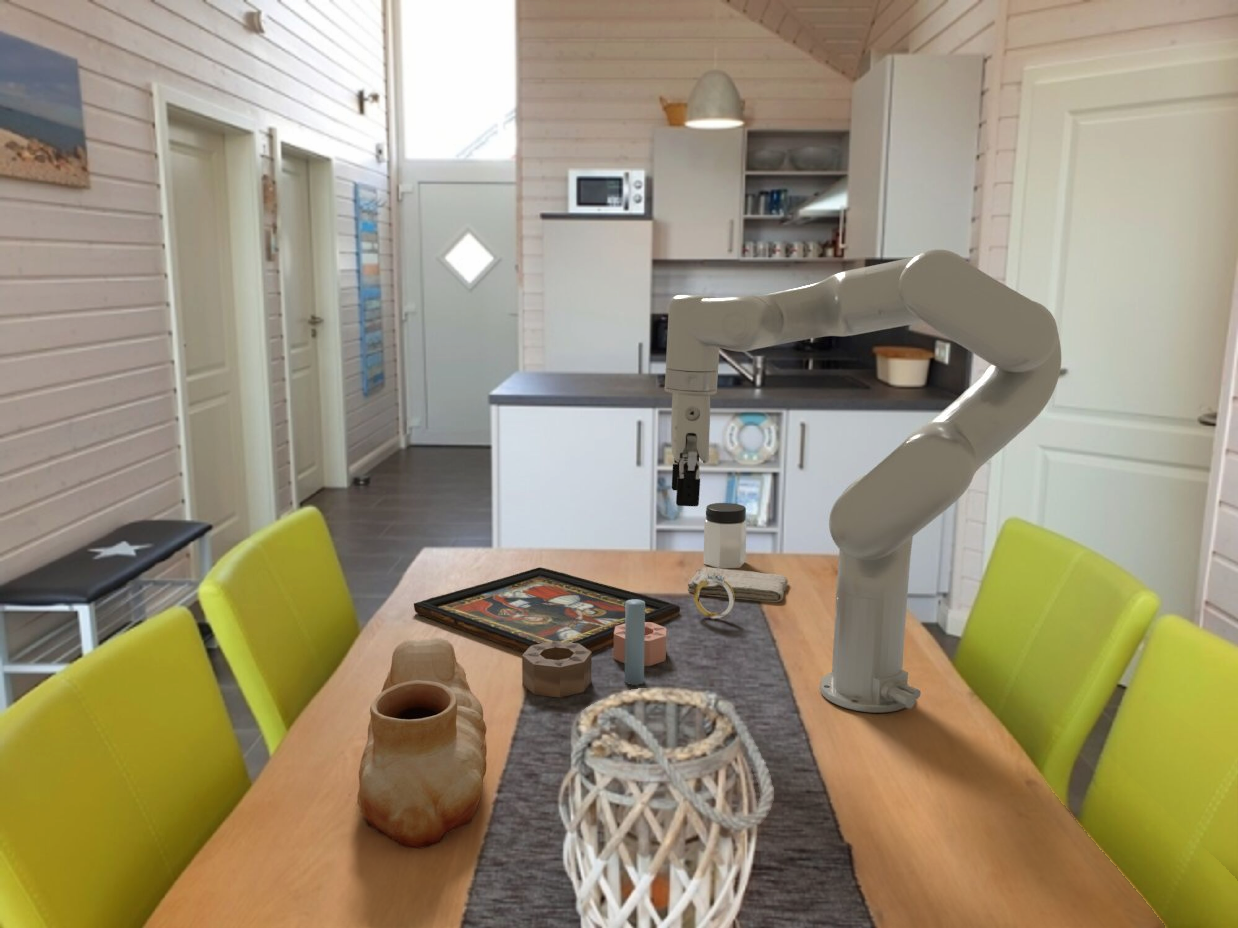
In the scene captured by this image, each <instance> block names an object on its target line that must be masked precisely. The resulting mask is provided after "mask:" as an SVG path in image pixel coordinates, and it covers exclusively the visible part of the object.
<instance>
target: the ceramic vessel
mask: <svg viewBox="0 0 1238 928" xmlns="http://www.w3.org/2000/svg"><path fill="white" fill-rule="evenodd" d="M483 709H484V708H483V705H482V703H481V702H480V700H479V699H478V697H476V695H475V694H474V693H473V692H472V690H471V687H470V685H469V683H468V680H467V674H466V671H465V669H464V667H463V666H462V665H461V664H460V663H459V662H458V661H457V657H456V654H455V649H454V647H453V644H452V643H451V642H450V641H449V640H448V639H445V638H442V637H433V638H426V639H425V638H423V639H420V640H419V639H418V640H416V639H406V640H404V641H401V642H400V643H399V644H398V645H397V646H396V647H395V648H394V650H393V652H392V657H391V666H390V670H389V671H388V672H387V675H386V679H385V681H384V683H383V686H382V689H381V692H380V693H379V694H377V695H376V696H375V698H374V699H373V700H372V702H371V705H370V708H369V713H370V721H369V724H368V727H367V739H366V740H367V741H366V744H365V746H364V748H363V751H362V756H361V761H360V764H359V768H358V780H359V781H358V783H359V785H358V786H359V787H358V792H357V804H358V806H359V807H358V808H359V811H360V812H361V814H362V816H363V818H364V819H365V822H366V825H367V826H368V827H369V828H371V829H373V830H375V831H376V832H377V833H380V834H381V835H383V836H385V837H387V838H389V839H392V840H394V841H395V842H396V843H397V844H398V845H399V846H402V847H404V848H409V849H410V848H412V849H422V848H426V847H430V846H434V845H437V844H439V843H441V842H442V840H443V839H444V837H445V836H447V835H448V834H449V833H451V832H452V831H453V830H458V829H459V828H463V827H464V826H467V825H469V824H470V823H471V821H472V819H473V818H474V815H475V813H476V811H477V809H478V805H479V802H480V800H481V796H482V792H483V780H484V777H485V776H486V772H487V749H488V747H487V739H486V734H487V726H486V725H487V724H486V722H485V720H484V710H483Z"/></svg>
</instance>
